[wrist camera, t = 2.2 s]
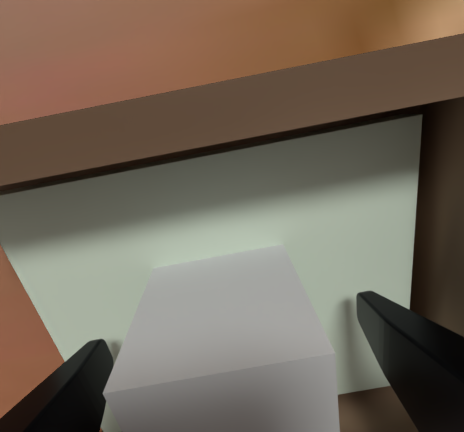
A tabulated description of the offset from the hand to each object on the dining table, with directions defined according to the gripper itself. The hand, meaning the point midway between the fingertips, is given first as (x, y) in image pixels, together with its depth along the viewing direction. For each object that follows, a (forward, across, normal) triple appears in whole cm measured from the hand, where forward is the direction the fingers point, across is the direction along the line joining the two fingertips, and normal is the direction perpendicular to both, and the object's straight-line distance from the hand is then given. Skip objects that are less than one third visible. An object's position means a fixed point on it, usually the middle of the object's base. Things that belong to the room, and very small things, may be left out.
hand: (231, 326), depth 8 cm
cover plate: (+2, 0, 0) cm, 2 cm away
